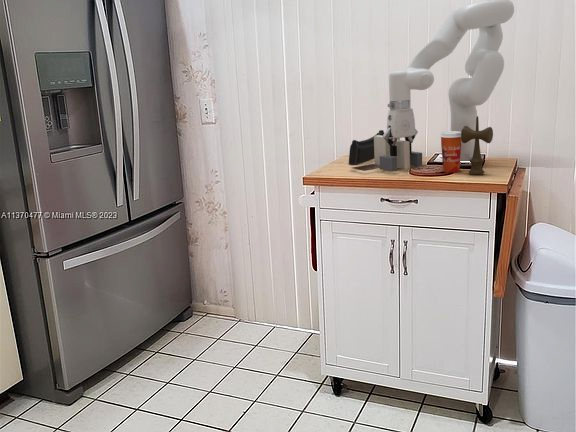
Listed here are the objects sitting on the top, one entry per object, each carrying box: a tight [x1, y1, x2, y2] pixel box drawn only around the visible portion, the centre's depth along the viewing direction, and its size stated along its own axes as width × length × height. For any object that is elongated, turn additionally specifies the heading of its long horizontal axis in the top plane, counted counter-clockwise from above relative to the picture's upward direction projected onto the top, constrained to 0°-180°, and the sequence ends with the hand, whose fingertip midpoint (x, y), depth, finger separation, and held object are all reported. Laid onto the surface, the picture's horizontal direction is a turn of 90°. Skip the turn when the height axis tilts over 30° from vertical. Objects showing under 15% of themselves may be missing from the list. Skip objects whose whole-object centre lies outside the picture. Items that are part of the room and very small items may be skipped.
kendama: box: [461, 115, 494, 176], centre depth 204 cm, size 6×10×20 cm, turn 52°
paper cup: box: [439, 130, 461, 174], centre depth 212 cm, size 8×8×14 cm
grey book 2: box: [410, 150, 423, 168], centre depth 224 cm, size 7×2×6 cm, turn 29°
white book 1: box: [373, 135, 390, 165], centre depth 227 cm, size 7×2×11 cm, turn 29°
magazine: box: [348, 129, 385, 166], centre depth 243 cm, size 17×3×30 cm
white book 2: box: [392, 139, 411, 170], centre depth 220 cm, size 7×2×11 cm, turn 29°
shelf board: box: [351, 163, 380, 172], centre depth 228 cm, size 9×17×1 cm, turn 119°
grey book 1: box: [379, 155, 398, 172], centre depth 218 cm, size 7×2×6 cm, turn 29°
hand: (400, 154), depth 220 cm, fingers open, 6 cm apart
